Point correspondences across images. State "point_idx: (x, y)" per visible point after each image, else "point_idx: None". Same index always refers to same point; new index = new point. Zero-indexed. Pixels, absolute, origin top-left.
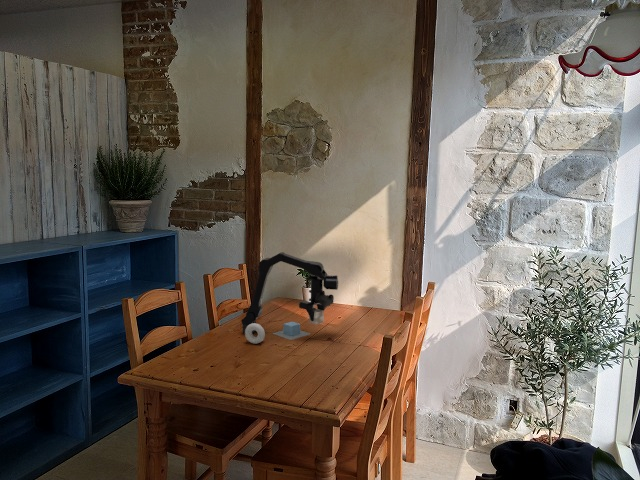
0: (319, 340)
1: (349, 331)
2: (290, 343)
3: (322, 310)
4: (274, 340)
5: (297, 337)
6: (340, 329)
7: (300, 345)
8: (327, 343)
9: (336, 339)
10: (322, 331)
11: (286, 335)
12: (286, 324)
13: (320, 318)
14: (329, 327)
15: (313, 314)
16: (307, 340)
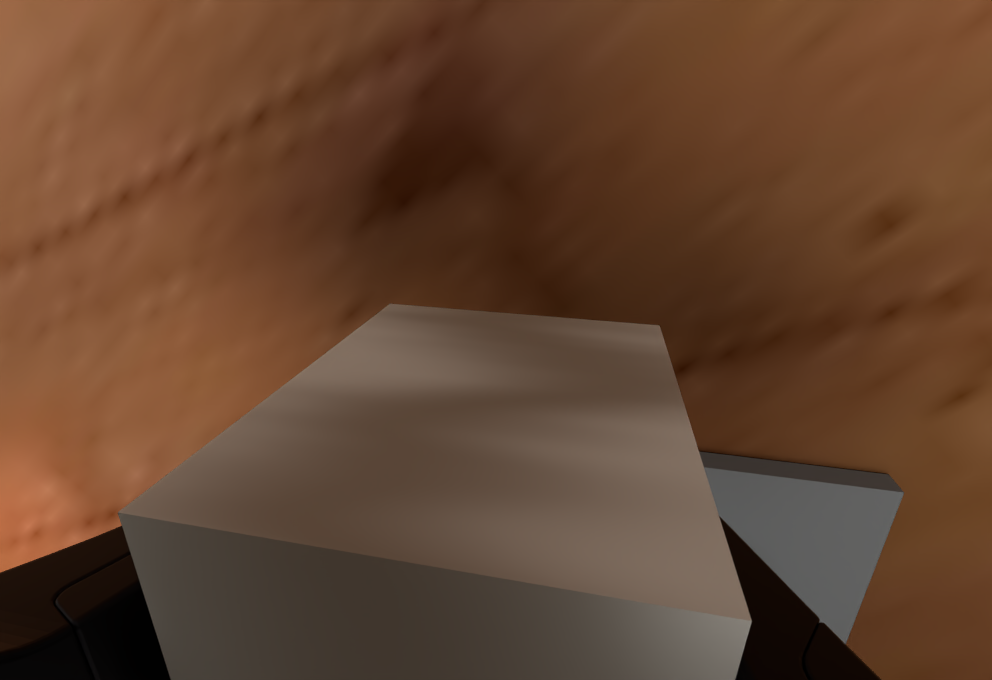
0: (566, 231)
1: (27, 188)
2: (951, 445)
3: (166, 562)
4: (950, 642)
5: (742, 486)
6: (82, 319)
7: (957, 287)
8: (594, 33)
9: (354, 74)
10: None
11: None
12: None
13: (470, 365)
14: (148, 446)
15: (769, 631)
16: (680, 354)
